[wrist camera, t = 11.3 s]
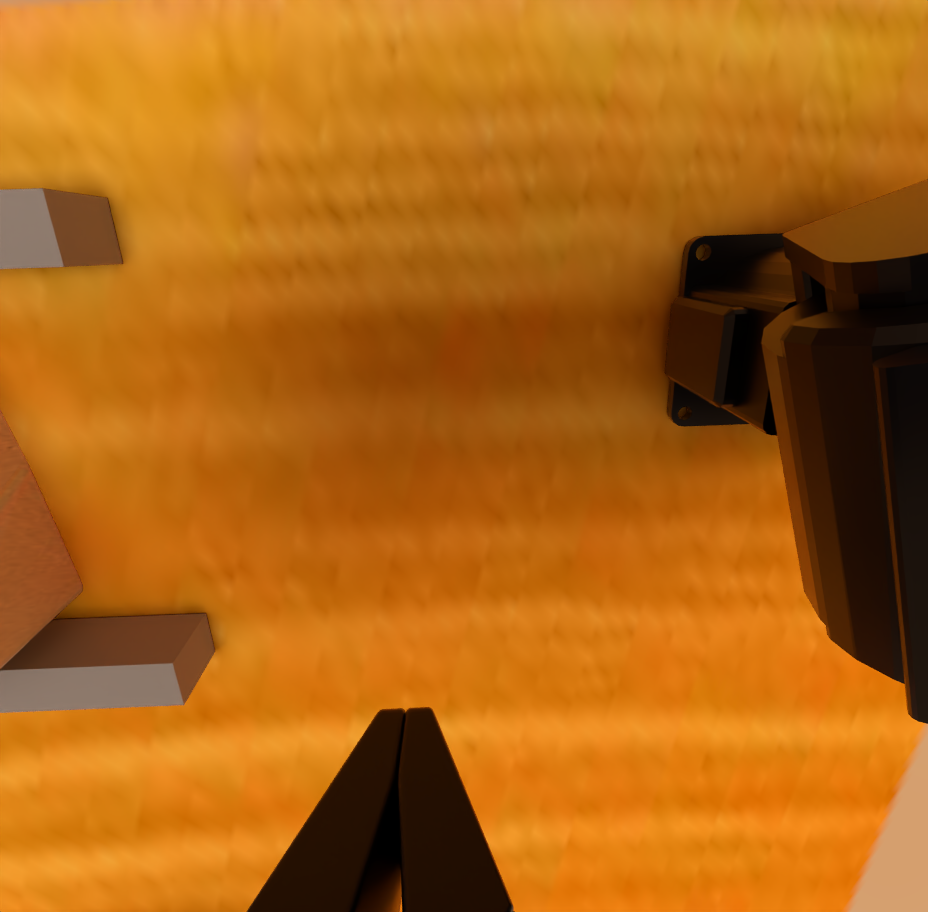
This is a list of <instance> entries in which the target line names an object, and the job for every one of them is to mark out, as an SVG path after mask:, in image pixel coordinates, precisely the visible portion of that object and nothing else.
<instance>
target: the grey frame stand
mask: <svg viewBox="0 0 928 912" xmlns="http://www.w3.org/2000/svg"><path fill="white" fill-rule="evenodd" d="M110 264H123V262H122V258H121V254H120V249H119V245H118V241H117V237H116V233H115V228H114V224H113V220H112V216H111V211H110V207H109V203H108V199H107V198H105V197H98V196H91V195H84V194H77V193H70V192H63V191H57V190H50V189H43V188H40V189H9V190H0V269H12V268H41V267H69V266H89V265H110ZM214 652H215V649H214V645H213V641H212V636H211V632H210V628H209V624H208V620H207V615H206V613H203V614H178V615H154V616H129V617H105V618H80V619H56V620H51V621H50V622H49V623H48V624H47V625H46V626H45V627H44V628H43V629H42V630H41V631H40V632H39V633H38V634H37V635H36V636H34V637H33V638H32V639H31V640H30V641H29V642H28V643H27V644H26V645H25V646H24V647H23V648H22V649H21V650H20V651H19V652H18V653H17V654H15V655H14V656H13V657H12V658H11V659H10V660H9V661H8V662H7V663H6V664H5V665H4V666H3V667H2V668H1V669H0V713H5V712H28V711H52V710H75V709H99V708H122V707H146V706H169V705H184V704H185V702H186V701H187V699H188V697H189V695H190V694H191V692H192V690H193V689H194V687H195V685H196V683H197V682H198V680H199V678H200V677H201V675H202V673H203V671H204V670H205V668H206V666H207V664H208V663H209V661H210V659H211V658H212V656H213V654H214Z"/></svg>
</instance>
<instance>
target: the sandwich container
mask: <svg viewBox="0 0 928 912" xmlns="http://www.w3.org/2000/svg"><path fill="white" fill-rule="evenodd" d="M82 589H83V585H82V582H81V580H80V578H79V576H78V573H77V571H76V569H75V567H74V565H73V562H72V560H71V558H70V556H69V553H68V551H67V549H66V547H65V545H64V542H63V540H62V538H61V536H60V533H59V531H58V529H57V527H56V525H55V522H54V520H53V518H52V516H51V513H50V511H49V509H48V507H47V505H46V502H45V500H44V498H43V496H42V494H41V491H40V489H39V487H38V485H37V482H36V480H35V478H34V476H33V474H32V471H31V469H30V467H29V465H28V463H27V461H26V459H25V456H24V455H23V453H22V451H21V449H20V447H19V445H18V443H17V441H16V440H15V438H14V436H13V434H12V432H11V430H10V428H9V426H8V424H7V422H6V420H5V418H4V416H3V414H2V412H1V410H0V669H1V668H2V667H3V666H4V665H5V664H6V663H7V662H8V661H9V660H10V659H11V658H12V657H13V656H14V655H15V654H17V653H18V652H19V651H20V650H21V649H22V648H23V647H24V646H25V645H26V644H27V643H28V642H29V641H30V640H31V639H32V638H33V637H34V636H36V635H37V634H38V633H39V632H40V631H41V630H42V629H43V628H44V627H45V626H46V625H47V624H48V623H49V622H50V621H51V620H52V619H54V618H55V617H56V616H57V615H58V614H59V613H60V612H61V611H62V610H63V609H64V608H65V607H66V606H67V605H68V604H69V603H70V602H71V601H73V600H74V599H75V598H76V597H77V596H78V595H79V594H80V593H81V592H82Z"/></svg>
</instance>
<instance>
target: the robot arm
mask: <svg viewBox="0 0 928 912" xmlns="http://www.w3.org/2000/svg"><path fill="white" fill-rule="evenodd" d="M700 245H703V246H704V247H705V248H706V253H705V256H704V257H703V258H702V259H701V260H698V258H697V257H696V250H697V248H698V247H699V246H700ZM665 374H666V375H667V376H668V377H669V378H670V389H669V398H668V408H667V414H668V417H669V419H670V420H671V421H672V422H674V423H675V424H677V425H678V426H706V425H733V424H751V425H753V426H754V427H756V428H758V429H759V430H761V431H763V432H765V433H766V434H769V435H776V436H778V442H779V448H780V454H781V460H782V465H783V471H784V477H785V483H786V489H787V494H788V500H789V506H790V512H791V518H792V523H793V529H794V535H795V541H796V547H797V552H798V558H799V564H800V570H801V576H802V582H803V587H804V592H805V594H806V595H807V597H808V599H809V601H810V602H811V604H812V606H813V608H814V610H815V611H816V613H817V615H818V617H819V618H820V620H821V621H822V622H823V623H824V624H825V625H826V630H827V635H828V636H829V638H830V639H831V640H832V641H833V642H835V643H836V644H837V645H838V646H840V647H841V648H842V649H843V650H845V651H846V652H847V653H848V654H850V655H851V656H852V657H854V658H855V659H856V660H858V661H860V662H862V663H864V664H866V665H868V666H869V667H871V668H873V669H875V670H877V671H879V672H881V673H883V674H885V675H886V676H888V677H890V678H892V679H894V680H896V681H899V682H901V683H904V684H905V691H906V701H907V710H908V714H909V715H910V716H911V717H912V718H913V719H915V720H917V721H919V722H923V723H928V179H927V180H924V181H921V182H919V183H916V184H913V185H911V186H908V187H905V188H903V189H900V190H897V191H895V192H892V193H889V194H887V195H884V196H881V197H879V198H876V199H873V200H871V201H868V202H865V203H863V204H860V205H857V206H855V207H852V208H849V209H847V210H844V211H841V212H839V213H836V214H833V215H831V216H828V217H825V218H823V219H820V220H817V221H815V222H812V223H809V224H807V225H804V226H801V227H799V228H796V229H793V230H791V231H788V232H786V233H780V234H750V235H720V236H699V237H695V238H693V239H692V240H690V241H689V242H688V243H687V245H686V246H685V249H684V253H683V262H682V272H681V282H680V291H679V297H677V298H676V299H675V301H674V302H673V303H672V304H671V313H670V323H669V333H668V343H667V353H666V364H665ZM685 406H686V407H687V409H688V410H687V413H686V414H685V415H684V416H682V417H678V412H679V410H680V409H681V408H682V407H685ZM401 897H402V912H515V911H513V904H512V902H511V899H510V897H509V894H508V892H507V890H506V887H505V885H504V882H503V880H502V877H501V875H500V872H499V870H498V868H497V865H496V863H495V860H494V858H493V855H492V853H491V851H490V848H489V846H488V843H487V841H486V838H485V836H484V833H483V831H482V829H481V826H480V824H479V821H478V819H477V816H476V814H475V811H474V809H473V807H472V804H471V802H470V799H469V797H468V794H467V792H466V790H465V787H464V785H463V782H462V780H461V777H460V775H459V772H458V770H457V768H456V765H455V763H454V760H453V758H452V755H451V753H450V750H449V748H448V746H447V743H446V741H445V738H444V736H443V733H442V731H441V728H440V726H439V724H438V721H437V719H436V716H435V714H434V712H433V710H432V709H431V708H430V707H421V708H409V709H408V710H407V711H406V712H405V710H404V709H402V708H398V709H382V710H380V711H379V712H378V713H377V714H376V716H375V717H374V719H373V720H372V722H371V723H370V725H369V726H368V728H367V730H366V731H365V733H364V734H363V736H362V737H361V739H360V740H359V742H358V743H357V745H356V746H355V748H354V749H353V751H352V752H351V754H350V755H349V757H348V758H347V760H346V761H345V763H344V764H343V766H342V768H341V769H340V771H339V772H338V774H337V775H336V777H335V778H334V780H333V781H332V783H331V784H330V786H329V787H328V789H327V790H326V792H325V793H324V795H323V796H322V798H321V799H320V801H319V802H318V804H317V806H316V807H315V809H314V810H313V812H312V813H311V815H310V816H309V818H308V819H307V821H306V822H305V824H304V825H303V827H302V828H301V830H300V831H299V833H298V834H297V836H296V837H295V839H294V840H293V842H292V844H291V845H290V847H289V848H288V850H287V851H286V853H285V854H284V856H283V857H282V859H281V860H280V862H279V863H278V865H277V866H276V868H275V869H274V871H273V872H272V874H271V875H270V877H269V878H268V880H267V881H266V883H265V885H264V886H263V888H262V889H261V891H260V892H259V894H258V895H257V897H256V898H255V900H254V901H253V903H252V904H251V906H250V907H249V909H248V910H247V912H399V911H400V904H401Z"/></svg>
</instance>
